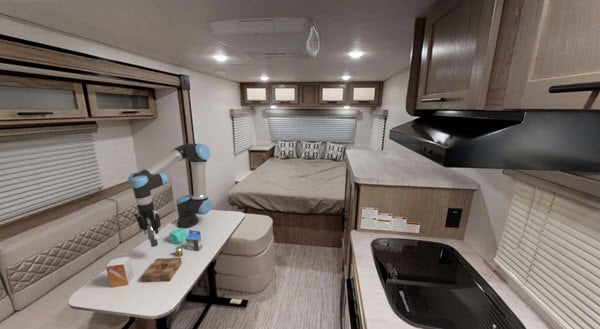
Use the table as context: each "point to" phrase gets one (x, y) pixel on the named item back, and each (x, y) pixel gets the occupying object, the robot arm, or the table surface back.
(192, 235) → the label tape cartridge
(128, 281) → the small box
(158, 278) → the hole block
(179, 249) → the short pin
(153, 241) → the long pin
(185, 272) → the table surface
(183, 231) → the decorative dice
